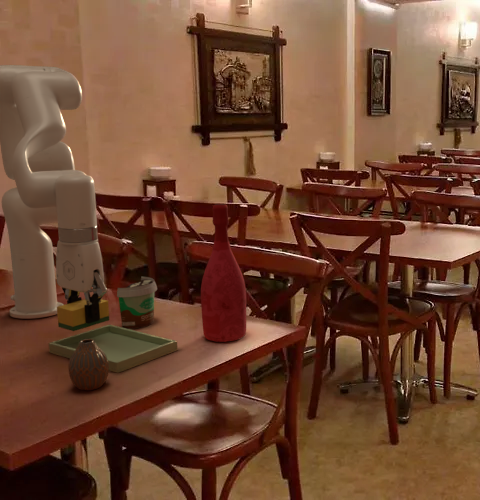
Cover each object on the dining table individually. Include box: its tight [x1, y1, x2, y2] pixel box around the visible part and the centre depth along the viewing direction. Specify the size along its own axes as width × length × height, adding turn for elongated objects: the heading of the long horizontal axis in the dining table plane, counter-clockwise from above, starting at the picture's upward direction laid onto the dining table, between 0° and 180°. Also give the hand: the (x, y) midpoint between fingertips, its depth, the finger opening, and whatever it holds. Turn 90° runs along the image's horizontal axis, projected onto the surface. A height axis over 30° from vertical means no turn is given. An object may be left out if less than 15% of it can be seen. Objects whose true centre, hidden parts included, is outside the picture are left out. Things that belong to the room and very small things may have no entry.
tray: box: [48, 324, 179, 374], centre depth 148 cm, size 22×16×2 cm
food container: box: [116, 276, 158, 330], centre depth 166 cm, size 12×6×10 cm, turn 168°
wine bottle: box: [200, 203, 247, 343], centre depth 155 cm, size 10×10×30 cm
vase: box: [68, 339, 110, 391], centre depth 128 cm, size 7×7×9 cm
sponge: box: [56, 298, 110, 332], centre depth 149 cm, size 5×9×4 cm, turn 147°
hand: (84, 318), depth 149 cm, fingers closed on sponge, 5 cm apart
